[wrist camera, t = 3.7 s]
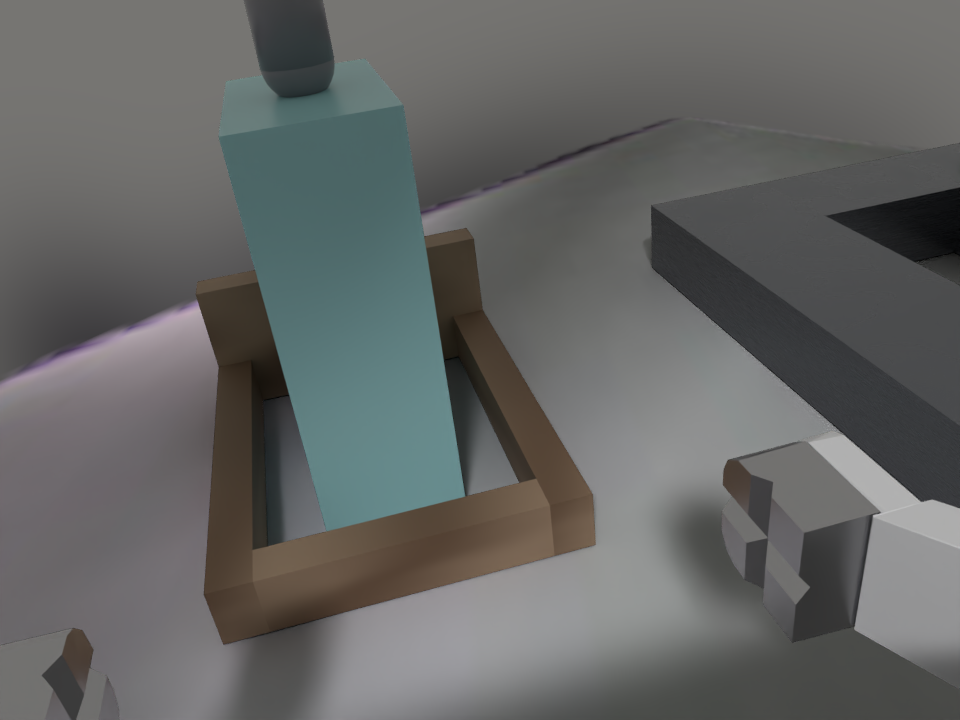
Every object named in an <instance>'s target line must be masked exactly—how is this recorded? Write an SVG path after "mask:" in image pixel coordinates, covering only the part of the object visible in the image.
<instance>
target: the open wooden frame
mask: <svg viewBox="0 0 960 720" xmlns="http://www.w3.org/2000/svg"><path fill="white" fill-rule="evenodd" d="M424 239H425V245H426V252H427V258H428V264H429V271H430V277H431V283H432V290H433V296H434V302H435V309H436V315H437V321H438V328H439V334H440V340H441V346H442V353H443V359H444V360H445V359H449V358H453V357H458V356H459V358H460V360H461V362H462V364H463V366H464V368H465V370H466V372H467V374H468V376H469V379H470V381H471V383H472V385H473V387H474V389H475V391H476V393H477V395H478V397H479V399H480V401H481V404H482V406H483V408H484V410H485V412H486V414H487V416H488V418H489V420H490V422H491V424H492V426H493V429H494V431H495V433H496V435H497V437H498V439H499V441H500V443H501V445H502V447H503V449H504V451H505V454H506V456H507V458H508V460H509V462H510V464H511V466H512V468H513V470H514V472H515V474H516V476H517V479H518V481H519V483H517V484H513V485H509V486H505V487H501V488H497V489H493V490H489V491H485V492H481V493H477V494H473V495H469V496H465V497H462V498H458V499H454V500H450V501H446V502H442V503H438V504H434V505H430V506H426V507H422V508H418V509H414V510H410V511H406V512H402V513H398V514H394V515H390V516H386V517H382V518H378V519H374V520H370V521H366V522H362V523H358V524H354V525H350V526H346V527H342V528H338V529H334V530H330V531H326V532H322V533H318V534H315V535H311V536H307V537H303V538H299V539H295V540H291V541H287V542H283V543H279V544H275V545H271V546H267V513H266V481H265V448H264V415H263V400H266V399H270V398H275V397H279V396H284V395H288V394H289V392H288V388H287V385H286V381H285V377H284V374H283V370H282V366H281V363H280V359H279V355H278V352H277V348H276V344H275V341H274V337H273V333H272V330H271V326H270V323H269V319H268V315H267V312H266V308H265V304H264V301H263V297H262V293H261V290H260V286H259V282H258V279H257V275H256V271H255V270H253V271H249V272H243V273H238V274H233V275H228V276H223V277H218V278H213V279H208V280H203V281H198V282H197V289H196V297H197V300H198V303H199V306H200V310H201V313H202V316H203V319H204V322H205V325H206V328H207V332H208V335H209V338H210V341H211V344H212V347H213V350H214V354H215V357H216V360H217V363H218V366H219V371H218V386H217V402H216V417H215V432H214V447H213V463H212V478H211V493H210V508H209V523H208V539H207V554H206V569H205V584H204V596H205V599H206V601H207V604H208V606H209V609H210V611H211V614H212V616H213V619H214V622H215V624H216V627H217V629H218V632H219V634H220V637H221V639H222V642H223V644H227V643H231V642H235V641H238V640H242V639H246V638H250V637H253V636H257V635H261V634H264V633H268V632H272V631H276V630H279V629H283V628H287V627H291V626H294V625H298V624H302V623H306V622H309V621H313V620H317V619H320V618H324V617H328V616H332V615H335V614H339V613H343V612H347V611H350V610H354V609H358V608H362V607H365V606H369V605H373V604H376V603H380V602H384V601H388V600H391V599H395V598H399V597H403V596H406V595H410V594H414V593H417V592H421V591H425V590H429V589H432V588H436V587H440V586H444V585H447V584H451V583H455V582H459V581H462V580H466V579H470V578H473V577H477V576H481V575H485V574H488V573H492V572H496V571H500V570H503V569H507V568H511V567H514V566H518V565H522V564H526V563H529V562H533V561H537V560H541V559H544V558H548V557H552V556H556V555H559V554H563V553H567V552H570V551H574V550H578V549H582V548H585V547H589V546H593V545H596V543H595V525H594V508H593V494H592V492H591V491H590V489H589V487H588V486H587V484H586V482H585V481H584V479H583V477H582V476H581V474H580V472H579V471H578V469H577V467H576V465H575V464H574V462H573V460H572V459H571V457H570V455H569V454H568V452H567V450H566V449H565V447H564V445H563V444H562V442H561V440H560V439H559V437H558V435H557V434H556V432H555V430H554V429H553V427H552V425H551V424H550V422H549V420H548V419H547V417H546V415H545V414H544V412H543V410H542V409H541V407H540V405H539V404H538V402H537V400H536V399H535V397H534V395H533V393H532V392H531V390H530V388H529V387H528V385H527V383H526V382H525V380H524V378H523V377H522V375H521V373H520V372H519V370H518V368H517V367H516V365H515V363H514V362H513V360H512V358H511V357H510V355H509V353H508V352H507V350H506V348H505V347H504V345H503V343H502V342H501V340H500V338H499V337H498V335H497V333H496V332H495V330H494V328H493V327H492V325H491V323H490V321H489V320H488V318H487V316H486V315H485V313H484V311H483V309H482V301H481V293H480V285H479V277H478V269H477V261H476V253H475V245H474V238H473V237H472V235H471V234H470V233H469V231H468V230H467V228H464V229H459V230H454V231H449V232H444V233H439V234H434V235H429V236H424Z"/></svg>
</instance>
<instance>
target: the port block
mask: <svg viewBox="0 0 960 720" xmlns="http://www.w3.org/2000/svg"><path fill="white" fill-rule="evenodd" d="M651 226H652V268H654V269H655V270H656V271H657V272H658V273H659V274H660V275H662V276H663V277H664V278H665V279H666V280H667V281H669V282H670V283H671V284H672V285H673V286H674V287H675V288H677V289H678V290H679V291H680V292H681V293H682V294H684V295H685V296H686V297H687V298H688V299H689V300H690V301H692V302H693V303H694V304H695V305H696V306H697V307H699V308H700V309H701V310H702V311H703V312H704V313H705V314H707V315H708V316H709V317H710V318H711V319H712V320H714V321H715V322H716V323H717V324H718V325H719V326H720V327H722V328H723V329H724V330H725V331H726V332H727V333H729V334H730V335H731V336H732V337H733V338H734V339H735V340H737V341H738V342H739V343H740V344H741V345H742V346H744V347H745V348H746V349H747V350H748V351H749V352H750V353H752V354H753V355H754V356H755V357H756V358H757V359H759V360H760V361H761V362H762V363H763V364H764V365H766V366H767V367H768V368H769V369H770V370H771V371H772V372H774V373H775V374H776V375H777V376H778V377H779V378H781V379H782V380H783V381H784V382H785V383H786V384H787V385H789V386H790V387H791V388H792V389H793V390H794V391H796V392H797V393H798V394H799V395H800V396H801V397H802V398H804V399H805V400H806V401H807V402H808V403H809V404H811V405H812V406H813V407H814V408H815V409H816V410H817V411H819V412H820V413H821V414H822V415H823V416H824V417H826V418H827V419H828V420H829V421H830V422H831V423H832V424H834V425H835V426H836V427H837V428H838V429H839V430H841V431H842V432H843V433H844V434H845V435H846V436H847V437H849V438H850V439H851V440H852V441H853V442H854V443H856V444H857V445H858V446H859V447H860V448H861V449H863V450H864V451H865V452H866V453H867V454H868V455H869V456H871V457H872V458H873V459H874V460H875V461H876V462H878V463H879V464H880V465H881V466H882V467H883V468H884V469H886V470H887V471H888V472H889V473H890V474H891V475H893V476H894V477H895V478H896V479H897V480H898V481H899V482H901V483H902V484H903V485H904V486H905V487H906V488H908V489H909V490H910V491H911V492H912V493H913V494H914V495H916V496H917V497H918V498H919V499H920V500H921V501H923V502H925V501H928V500H935V501H938V502H941V503H945V504H948V505H951V506H954V507H957V508H960V285H958V284H956V283H954V282H952V281H950V280H948V279H946V278H944V277H942V276H940V275H938V274H937V273H935V272H933V271H931V270H929V269H927V268H925V267H923V266H921V265H919V264H917V263H915V262H914V261H918V260H922V259H927V258H931V257H936V256H940V255H945V254H949V253H953V252H955V253H957V254H959V255H960V143H958V144H953V145H948V146H943V147H938V148H933V149H928V150H923V151H918V152H913V153H908V154H903V155H898V156H893V157H888V158H883V159H878V160H873V161H869V162H864V163H859V164H854V165H849V166H844V167H839V168H834V169H829V170H824V171H819V172H814V173H809V174H804V175H799V176H794V177H789V178H784V179H779V180H774V181H770V182H765V183H760V184H755V185H750V186H745V187H740V188H735V189H730V190H725V191H720V192H715V193H710V194H705V195H700V196H695V197H690V198H685V199H680V200H675V201H670V202H666V203H661V204H656V205H651Z"/></svg>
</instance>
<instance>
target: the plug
mask: <svg viewBox="0 0 960 720" xmlns="http://www.w3.org/2000/svg"><path fill="white" fill-rule="evenodd" d="M244 4H245V8H246V12H247V16H248V20H249V25H250V29H251V33H252V37H253V41H254V46H255V50H256V54H257V58H258V62H259V67H260V70H261V73H262V75H261V76H255V77H249V78H243V79H237V80H230V81H226V85H225V93H224V100H223V108H222V116H221V123H220V130H219V140H220V144H221V147H222V151H223V154H224V158H225V162H226V165H227V169H228V173H229V176H230V180H231V184H232V187H233V191H234V195H235V198H236V202H237V205H238V209H239V213H240V216H241V220H242V224H243V227H244V231H245V235H246V239H247V242H248V246H249V249H250V253H251V257H252V260H253V264H254V268H255V271H256V275H257V279H258V282H259V286H260V290H261V293H262V297H263V301H264V304H265V308H266V312H267V315H268V319H269V323H270V326H271V330H272V333H273V337H274V341H275V344H276V348H277V352H278V355H279V359H280V363H281V366H282V370H283V374H284V377H285V381H286V385H287V388H288V392H289V396H290V399H291V403H292V406H293V410H294V414H295V417H296V421H297V425H298V428H299V432H300V436H301V439H302V443H303V447H304V450H305V454H306V458H307V461H308V465H309V469H310V472H311V476H312V480H313V483H314V487H315V490H316V494H317V498H318V501H319V505H320V509H321V512H322V516H323V520H324V523H325V527H326V531H330V530H334V529H338V528H342V527H346V526H350V525H354V524H358V523H362V522H366V521H370V520H374V519H378V518H382V517H386V516H390V515H394V514H398V513H402V512H406V511H410V510H414V509H418V508H422V507H426V506H430V505H434V504H438V503H442V502H446V501H450V500H454V499H458V498H462V497H465V492H464V486H463V479H462V473H461V467H460V460H459V454H458V448H457V441H456V435H455V429H454V422H453V416H452V410H451V403H450V397H449V391H448V384H447V378H446V372H445V365H444V359H443V353H442V346H441V340H440V334H439V328H438V321H437V315H436V309H435V302H434V296H433V290H432V283H431V277H430V271H429V264H428V258H427V252H426V245H425V239H424V233H423V226H422V220H421V214H420V207H419V201H418V195H417V188H416V182H415V176H414V169H413V163H412V157H411V151H410V144H409V138H408V132H407V125H406V119H405V112H404V106H403V104H402V103H401V101H400V100H399V99H398V98H397V97H396V95H395V94H394V93H393V92H392V91H391V89H390V88H389V87H388V86H387V84H386V83H385V82H384V81H383V80H382V78H381V77H380V76H379V75H378V74H377V72H376V71H375V70H374V69H373V67H372V66H371V65H370V64H369V63H368V62H367V60H366V59H360V60H354V61H347V62H341V63H334V56H333V50H332V45H331V40H330V34H329V29H328V25H327V20H326V14H325V9H324V3H323V0H244Z"/></svg>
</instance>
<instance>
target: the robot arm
mask: <svg viewBox="0 0 960 720" xmlns="http://www.w3.org/2000/svg"><path fill="white" fill-rule="evenodd" d="M723 486H724V487H725V488H726V489H727V491H728V492H729V493H730V494H731V495H732V497H731V499H730V500H729V502H728V503H727V504H726V506H725V507H724V509H723V510H722V534H723V538H724V542H725V545H726V549H727V552H728V554H729V556H730V558H731V560H732V562H733V564H734V566H735V567H736V569H737V570H738V571H739V573H740V574H741V576H742V577H743V578H744V580H746V581H748V582H751V583H753V584H755V585H757V586H759V587H762V588H764V595H763V605H764V607H765V608H766V609H767V611H768V612H769V613H770V615H771V616H772V617H773V618H774V620H775V621H776V622H777V624H778V625H779V626H780V628H781V629H782V630H783V632H784V633H785V634H786V636H787V637H788V638H789V640H790V641H791V642H792V643H794V642H798V641H801V640H805V639H809V638H813V637H816V636H820V635H824V634H828V633H831V632H835V631H839V630H843V629H846V628H850V627H854V626H855V628H854V630H856V631H857V632H859V633H861V634H863V635H864V636H866V637H868V638H870V639H871V640H873V641H875V642H877V643H878V644H880V645H882V646H884V647H885V648H887V649H889V650H891V651H893V652H894V653H896V654H898V655H900V656H901V657H903V658H905V659H907V660H908V661H910V662H912V663H914V664H915V665H917V666H919V667H921V668H922V669H924V670H926V671H928V672H930V673H931V674H933V675H935V676H937V677H938V678H940V679H942V680H944V681H945V682H947V683H949V684H951V685H952V686H954V687H956V688H958V689H959V690H960V508H957V507H954V506H951V505H948V504H945V503H941V502H938V501H935V500H928V501H925V502H921V501H919V500H918V499H917V498H916V497H915V496H914V495H912V494H911V493H910V492H909V491H908V490H907V489H906V488H904V487H903V486H902V485H901V484H900V483H899V482H897V481H896V480H895V479H894V478H893V477H892V476H890V475H889V474H888V473H887V472H886V471H885V470H884V469H882V468H881V467H880V466H879V465H878V464H877V463H875V462H874V461H873V460H872V459H871V458H870V457H868V456H867V455H866V454H865V453H864V452H863V451H861V450H860V449H859V448H858V447H857V446H856V445H855V444H853V443H852V442H851V441H850V440H849V439H848V438H846V437H845V436H844V435H843V434H840V433H837V432H834V431H831V432H827V433H824V434H820V435H816V436H813V437H809V438H806V439H802V440H798V441H797V442H794V443H789V444H786V445H782V446H778V447H774V448H771V449H767V450H763V451H759V452H756V453H752V454H748V455H744V456H740V457H737V458H733V459H729V460H728V461H727V463H726V465H725V468H724V473H723ZM92 654H93V648H92V646H91V645H90V643H89V641H88V639H87V638H86V636H85V634H84V632H83V631H82V630H79V629H75V628H72V629H68V630H63V631H59V632H55V633H51V634H46V635H42V636H38V637H33V638H29V639H25V640H21V641H16V642H12V643H8V644H4V645H0V720H120V719H119V707H118V704H117V700H116V696H115V693H114V690H113V688H112V685H111V683H110V681H109V679H108V677H107V676H106V675H104V674H102V673H100V672H98V671H96V670H93V669H91V668H90V664H91V659H92Z"/></svg>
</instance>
